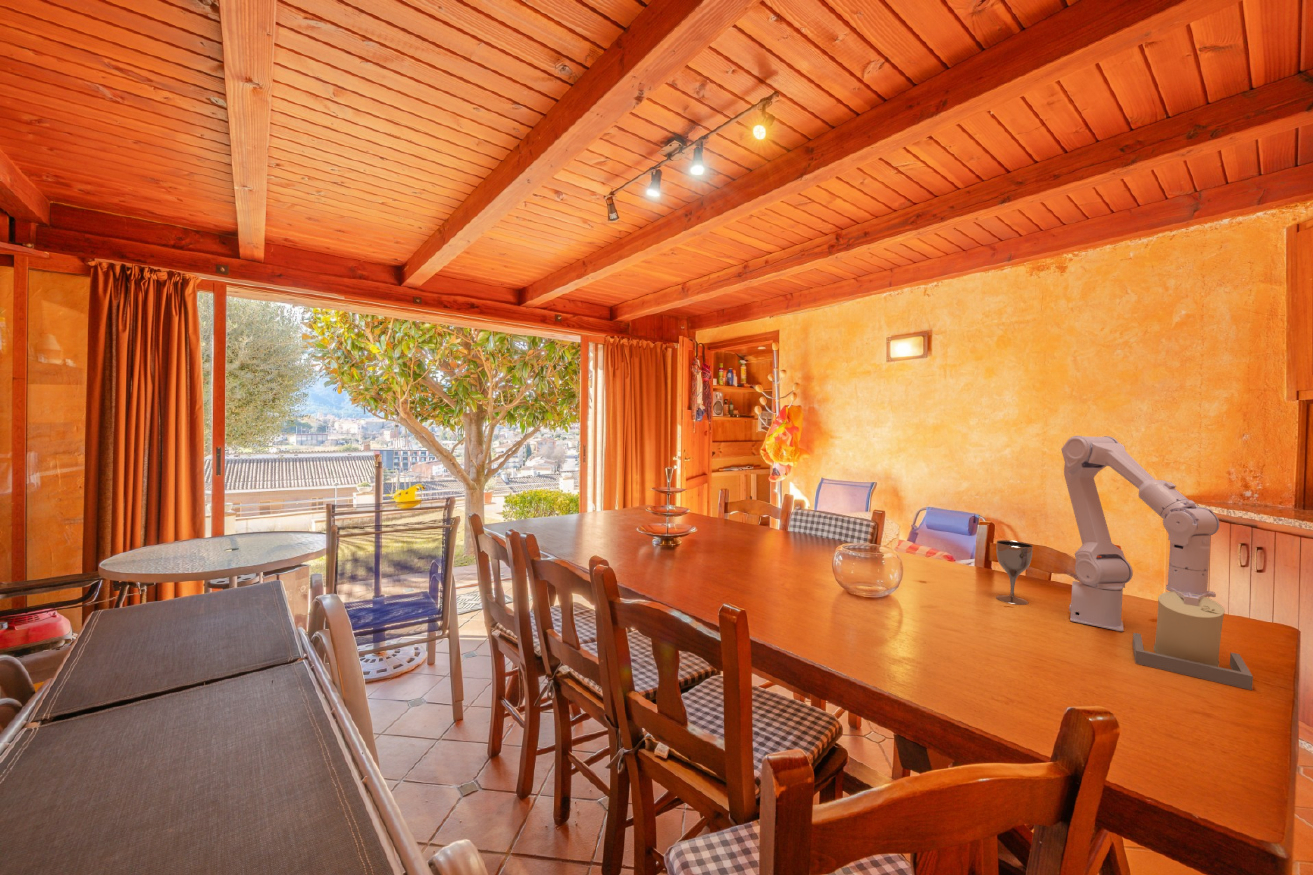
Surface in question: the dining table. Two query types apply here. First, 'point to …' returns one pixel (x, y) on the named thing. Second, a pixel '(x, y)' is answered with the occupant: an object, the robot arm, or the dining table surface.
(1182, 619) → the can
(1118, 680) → the dining table surface
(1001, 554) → the wine glass
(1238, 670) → the holder
